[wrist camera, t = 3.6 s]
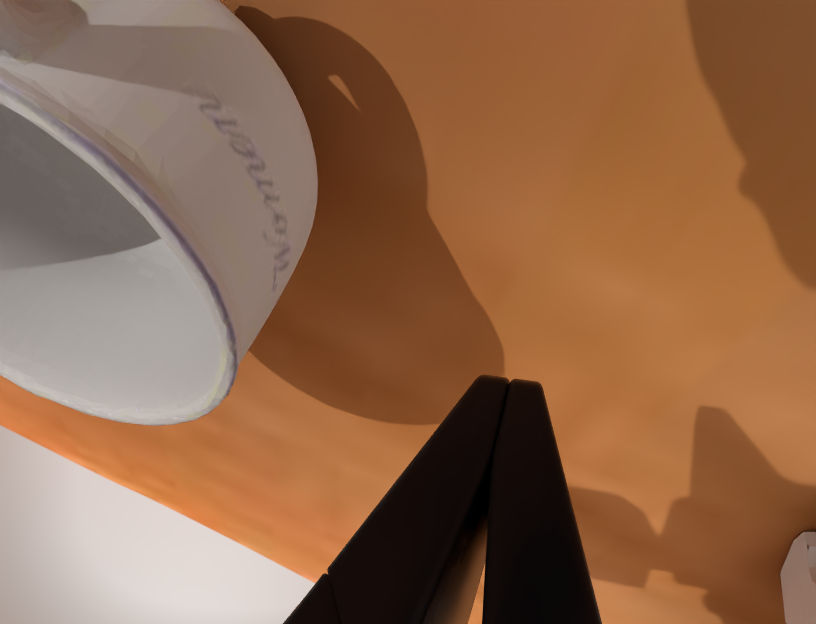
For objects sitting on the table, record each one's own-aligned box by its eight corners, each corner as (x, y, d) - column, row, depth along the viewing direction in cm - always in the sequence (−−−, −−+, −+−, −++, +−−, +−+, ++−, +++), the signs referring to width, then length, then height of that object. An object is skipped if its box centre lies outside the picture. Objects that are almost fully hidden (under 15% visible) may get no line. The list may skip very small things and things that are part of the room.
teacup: (284, 286, 25) (180, 479, 20) (-7, 131, 23) (-210, 298, 18) (484, -74, 15) (377, 128, 9) (-13, -410, 13) (-496, -392, 7)
